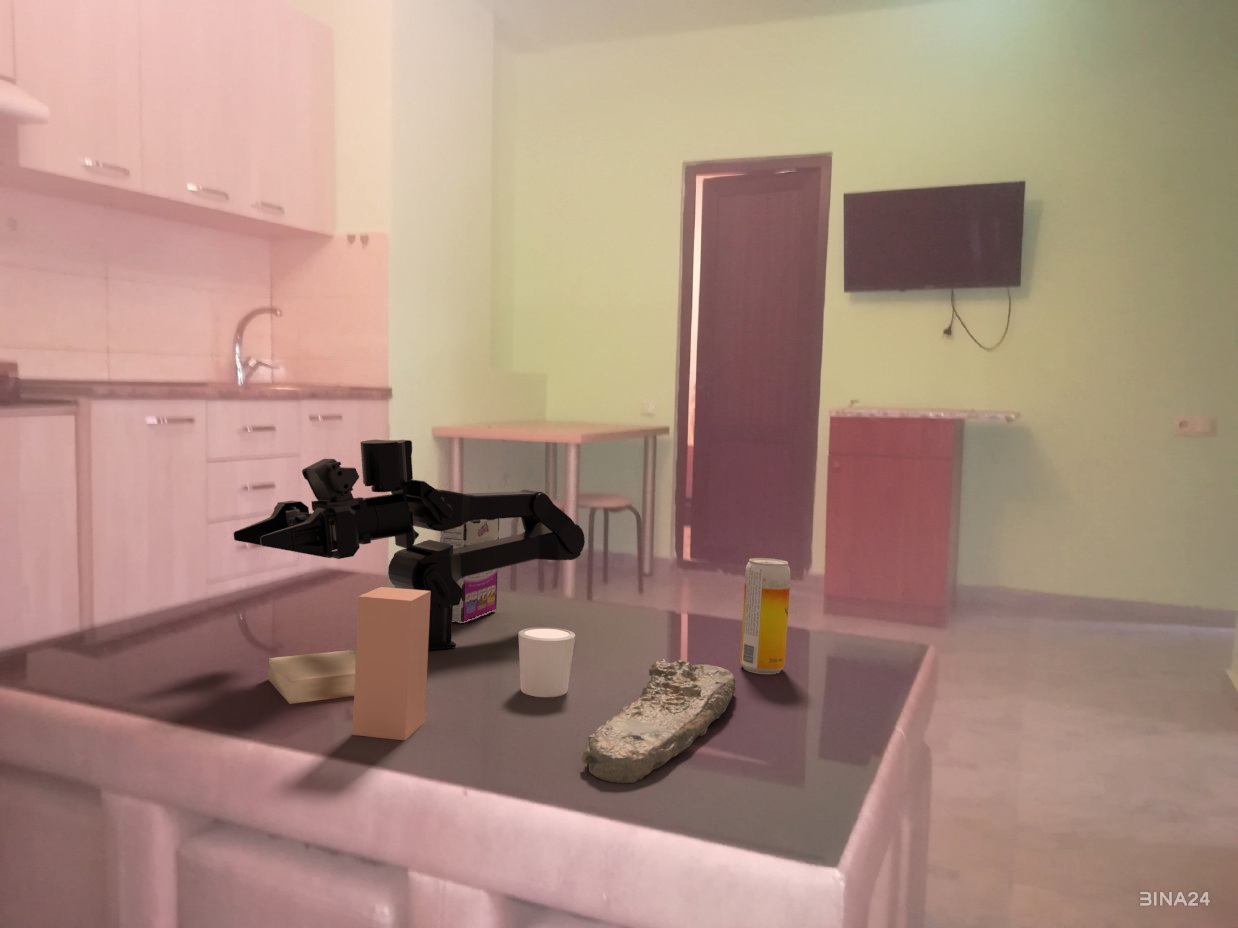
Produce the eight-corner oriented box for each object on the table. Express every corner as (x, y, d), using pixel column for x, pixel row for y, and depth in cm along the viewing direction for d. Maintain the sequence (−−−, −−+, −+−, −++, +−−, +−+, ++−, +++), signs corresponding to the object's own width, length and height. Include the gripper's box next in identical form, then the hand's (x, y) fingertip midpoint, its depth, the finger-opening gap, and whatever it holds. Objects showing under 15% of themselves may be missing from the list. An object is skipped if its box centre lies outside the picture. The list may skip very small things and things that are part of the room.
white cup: (528, 701, 102) (531, 641, 102) (507, 684, 108) (510, 627, 108) (581, 695, 106) (585, 637, 105) (558, 679, 112) (561, 624, 111)
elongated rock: (553, 787, 82) (652, 815, 79) (557, 732, 82) (658, 759, 78) (675, 676, 115) (750, 693, 111) (679, 636, 114) (754, 652, 110)
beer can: (792, 670, 122) (799, 562, 121) (768, 678, 117) (775, 565, 117) (756, 660, 126) (762, 556, 125) (730, 667, 122) (737, 559, 121)
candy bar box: (471, 608, 151) (475, 512, 150) (497, 612, 149) (501, 515, 148) (434, 620, 140) (439, 517, 139) (462, 624, 138) (467, 520, 138)
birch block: (352, 673, 111) (353, 649, 111) (378, 696, 103) (379, 670, 103) (268, 683, 105) (269, 658, 105) (289, 707, 97) (290, 680, 97)
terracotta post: (375, 717, 94) (380, 586, 94) (424, 722, 93) (430, 590, 93) (352, 734, 89) (358, 596, 88) (405, 740, 88) (411, 600, 87)
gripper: (331, 458, 123) (214, 471, 113) (395, 458, 109) (268, 473, 99) (339, 537, 124) (224, 557, 114) (403, 547, 110) (278, 571, 100)
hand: (247, 538), depth 107 cm, fingers open, 9 cm apart
